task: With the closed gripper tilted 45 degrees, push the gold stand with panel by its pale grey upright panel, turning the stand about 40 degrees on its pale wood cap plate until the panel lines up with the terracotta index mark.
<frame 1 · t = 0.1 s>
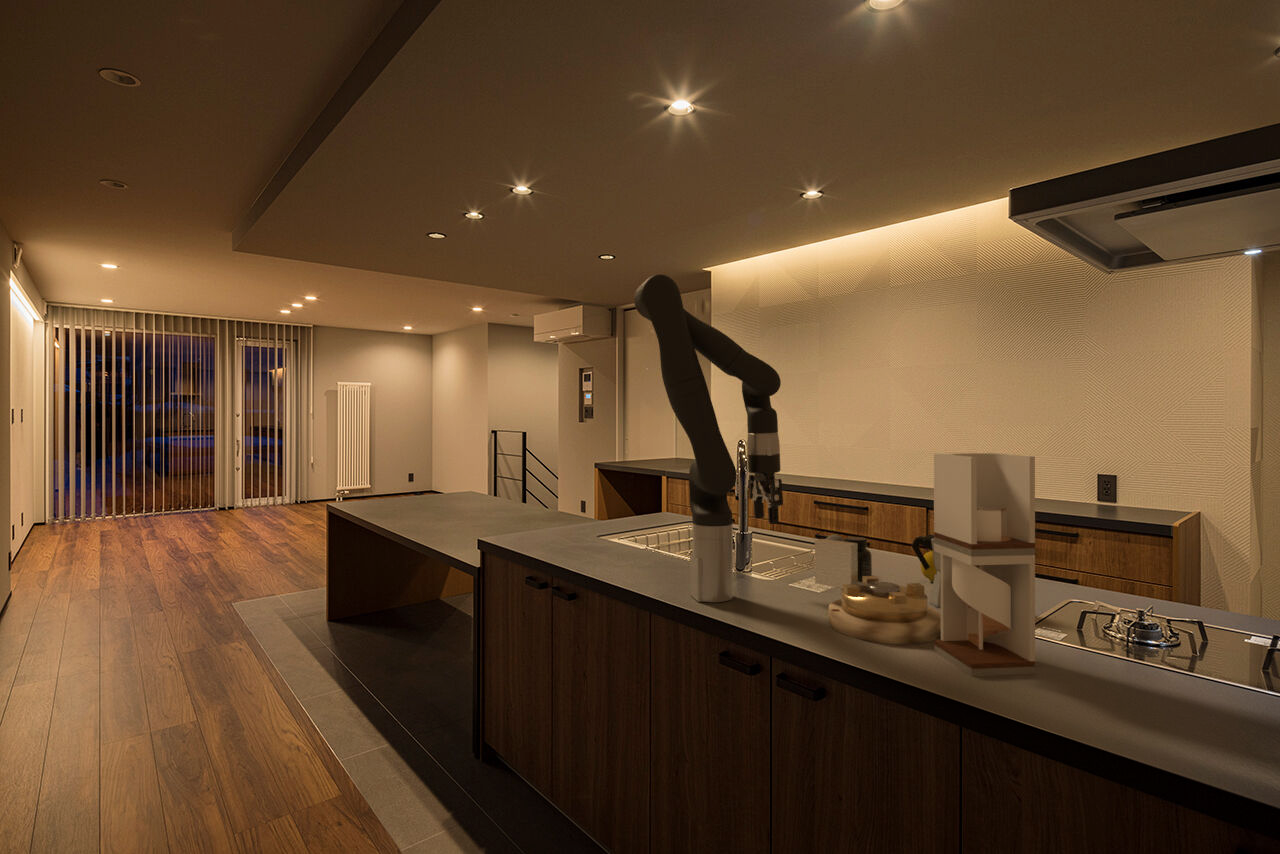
hand: (766, 520, 154), 17 cm above the worktop, tool pointing down, fingers open, 8 cm apart
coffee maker: (946, 605, 145), on the worktop
supplement bottle: (857, 588, 160), on the worktop
gold stand with panel: (868, 576, 132), point 9 cm above the worktop, hinge at 0.0°
light bulb: (834, 572, 176), on the worktop
cap plate: (883, 625, 130), on the worktop
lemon: (932, 582, 164), on the worktop
white tower model: (982, 663, 111), on the worktop
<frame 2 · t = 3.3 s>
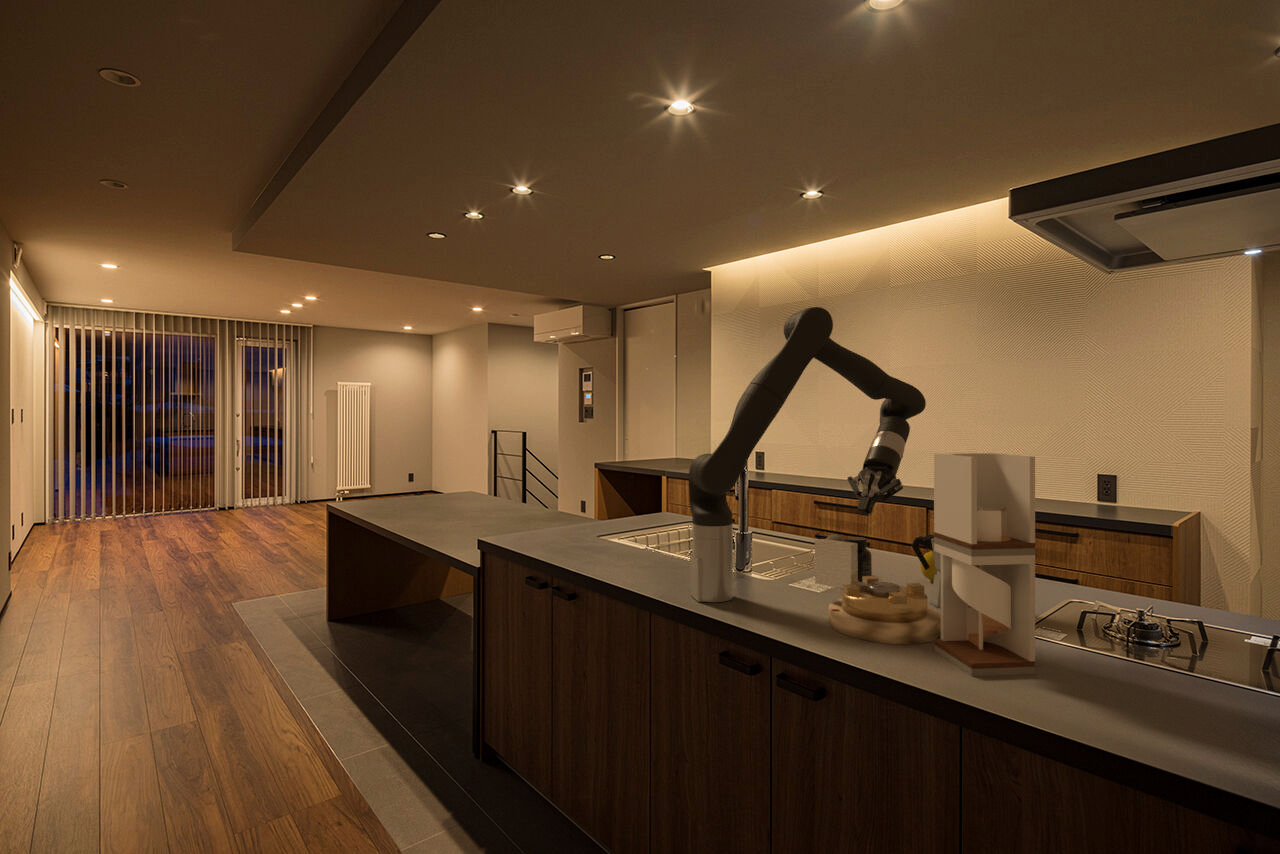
hand: (863, 513, 145), 20 cm above the worktop, tool tilted 45°, fingers closed
nothing on the worktop moved.
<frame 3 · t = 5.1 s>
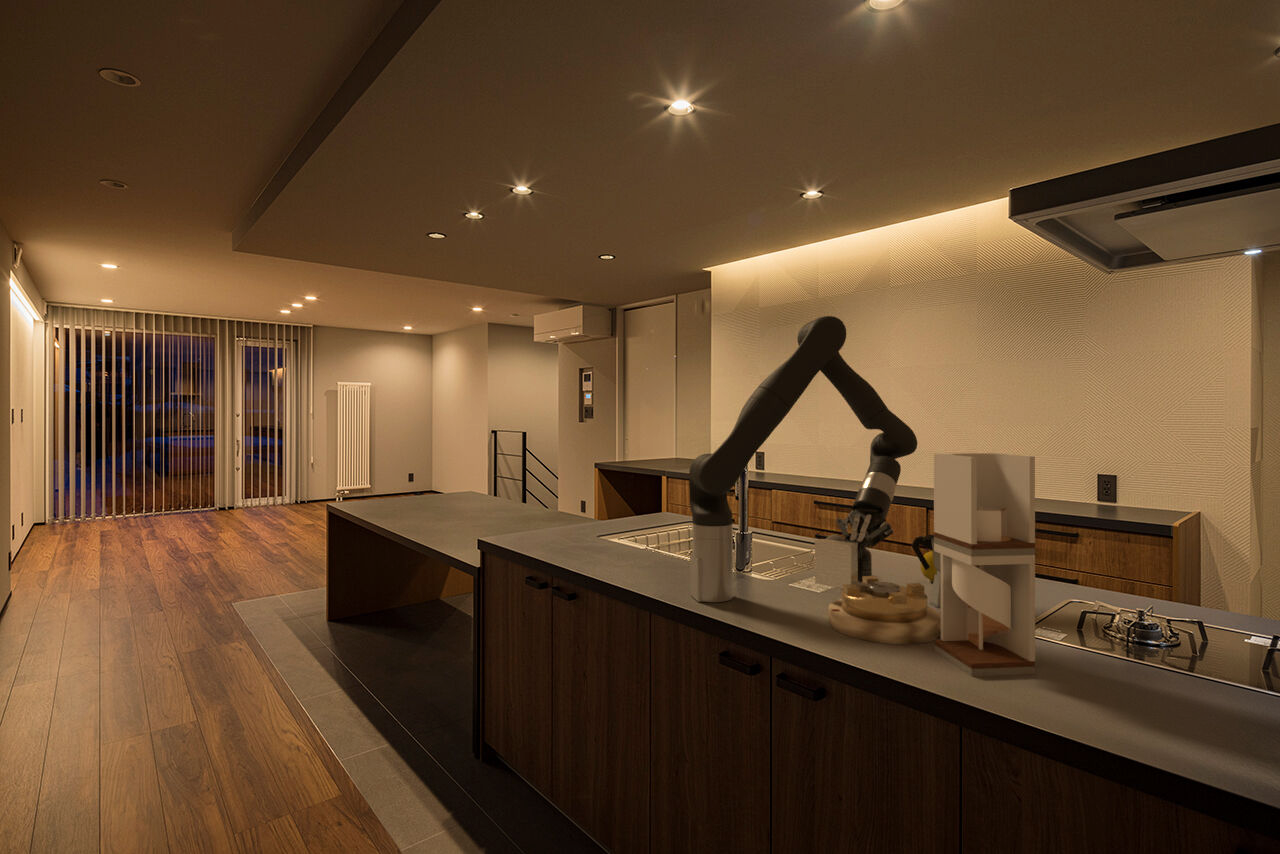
hand: (852, 558, 141), 11 cm above the worktop, tool tilted 45°, fingers closed
nothing on the worktop moved.
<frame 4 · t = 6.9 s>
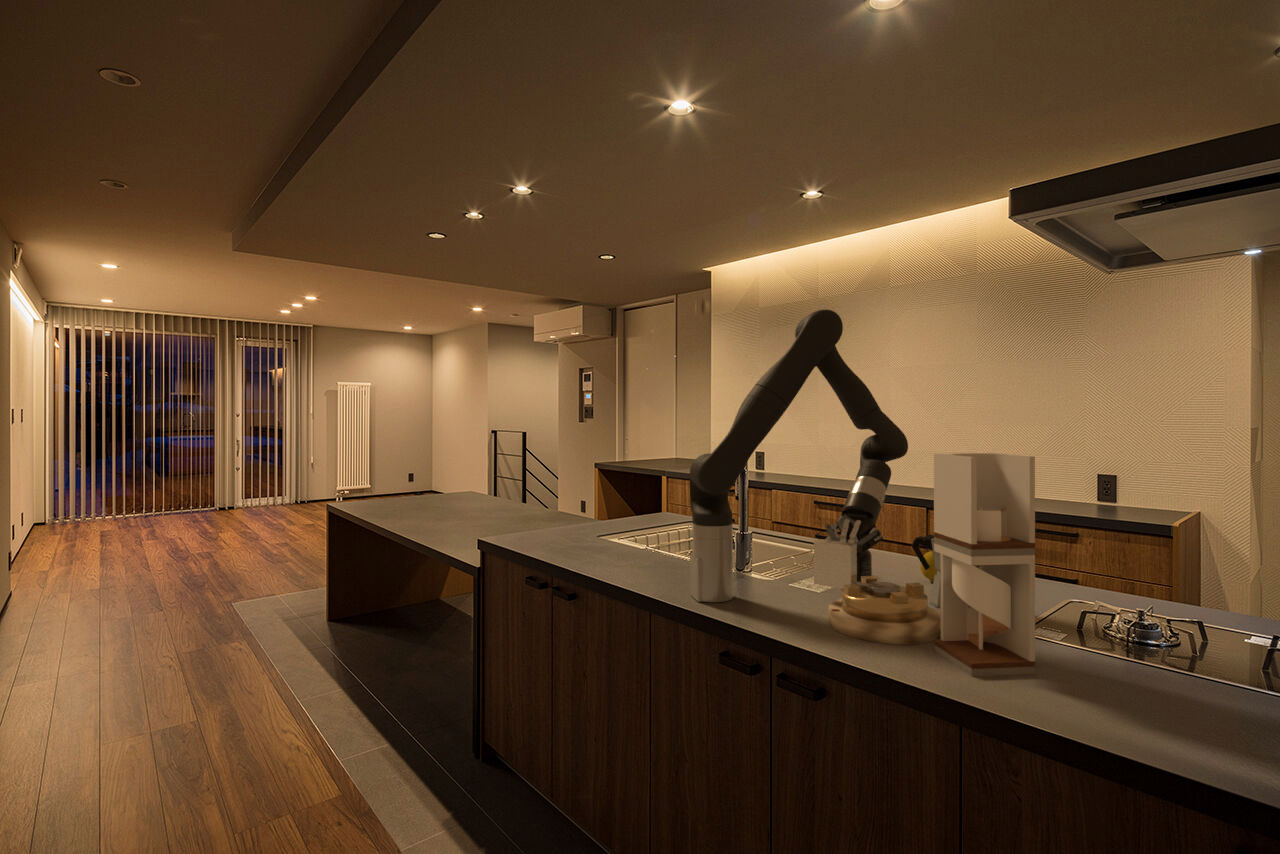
hand: (841, 565, 138), 10 cm above the worktop, tool tilted 45°, fingers closed
gold stand with panel: (868, 576, 132), point 9 cm above the worktop, hinge at 2.4°, touching gripper
everything else where it was.
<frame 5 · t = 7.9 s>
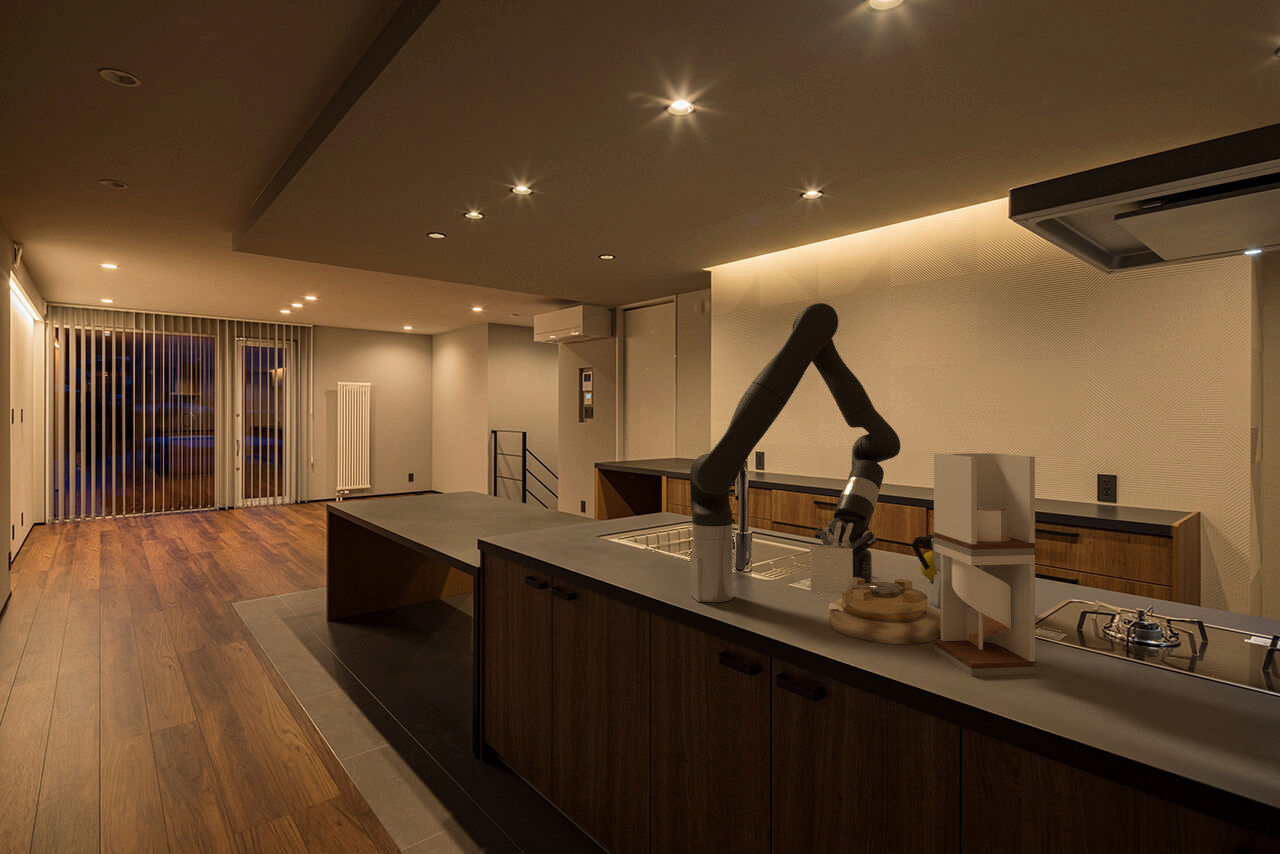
hand: (833, 570, 134), 10 cm above the worktop, tool tilted 45°, fingers closed
gold stand with panel: (867, 578, 130), point 9 cm above the worktop, hinge at 31.0°, touching gripper
everything else where it was.
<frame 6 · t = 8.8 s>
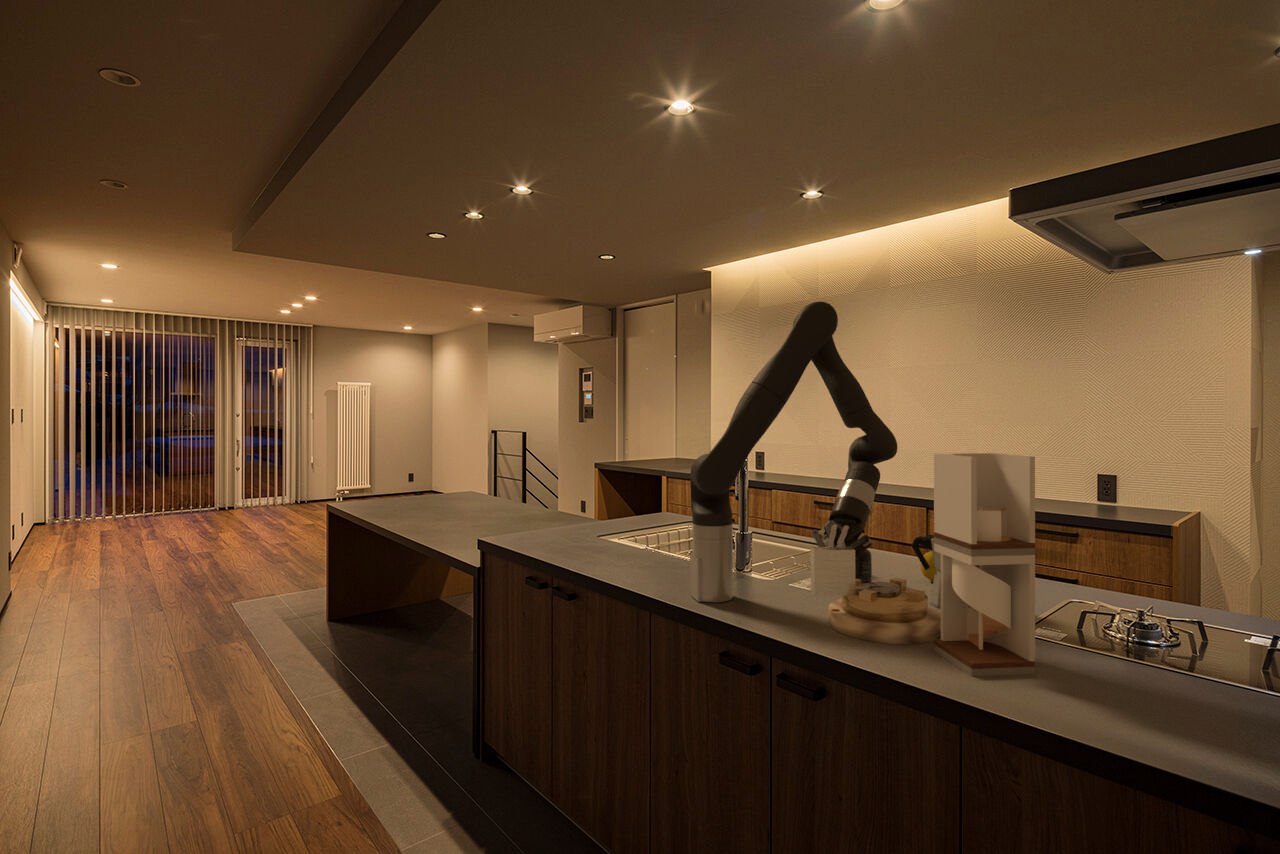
hand: (828, 573, 132), 10 cm above the worktop, tool tilted 45°, fingers closed
gold stand with panel: (868, 578, 130), point 9 cm above the worktop, hinge at 41.3°, touching gripper
everything else where it was.
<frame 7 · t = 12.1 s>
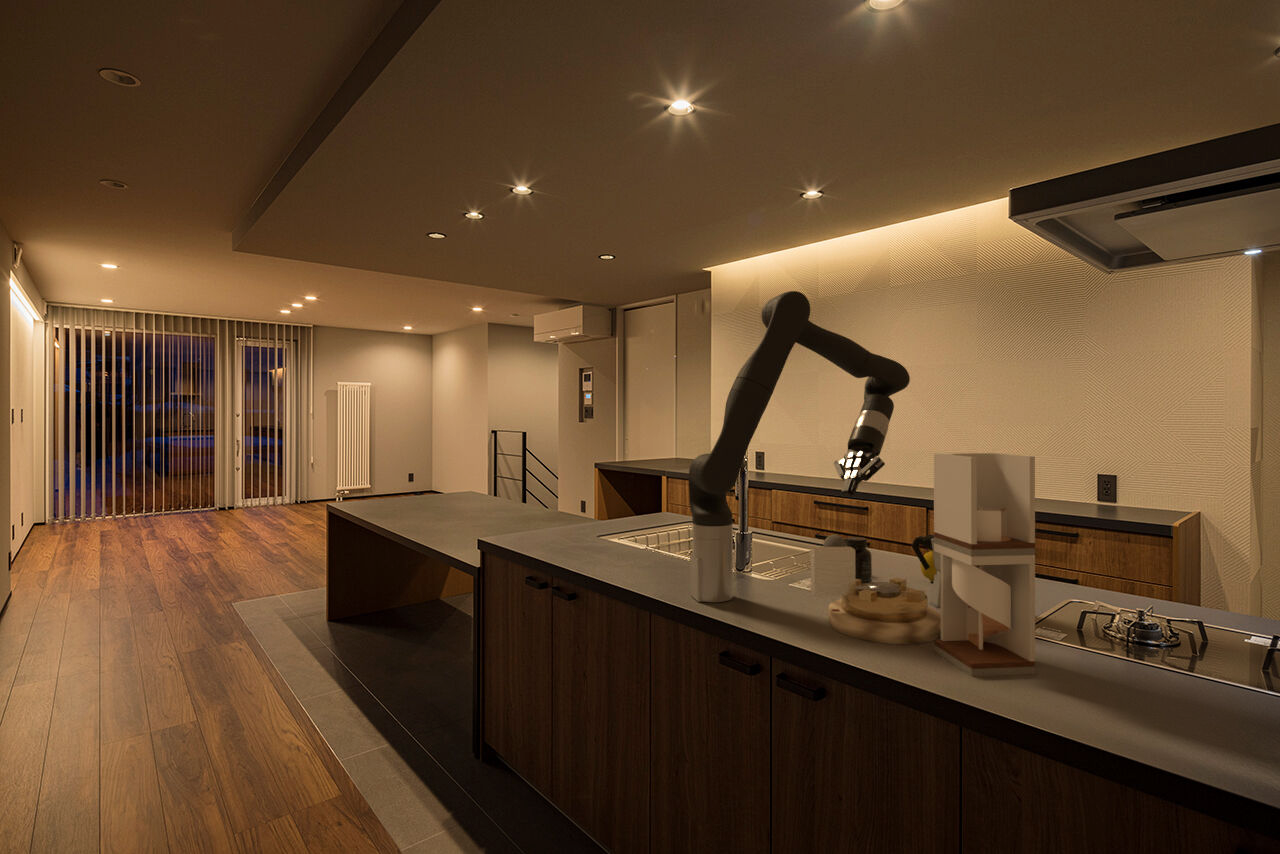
hand: (847, 495, 147), 24 cm above the worktop, tool tilted 40°, fingers closed
gold stand with panel: (868, 578, 130), point 9 cm above the worktop, hinge at 41.5°
everything else where it was.
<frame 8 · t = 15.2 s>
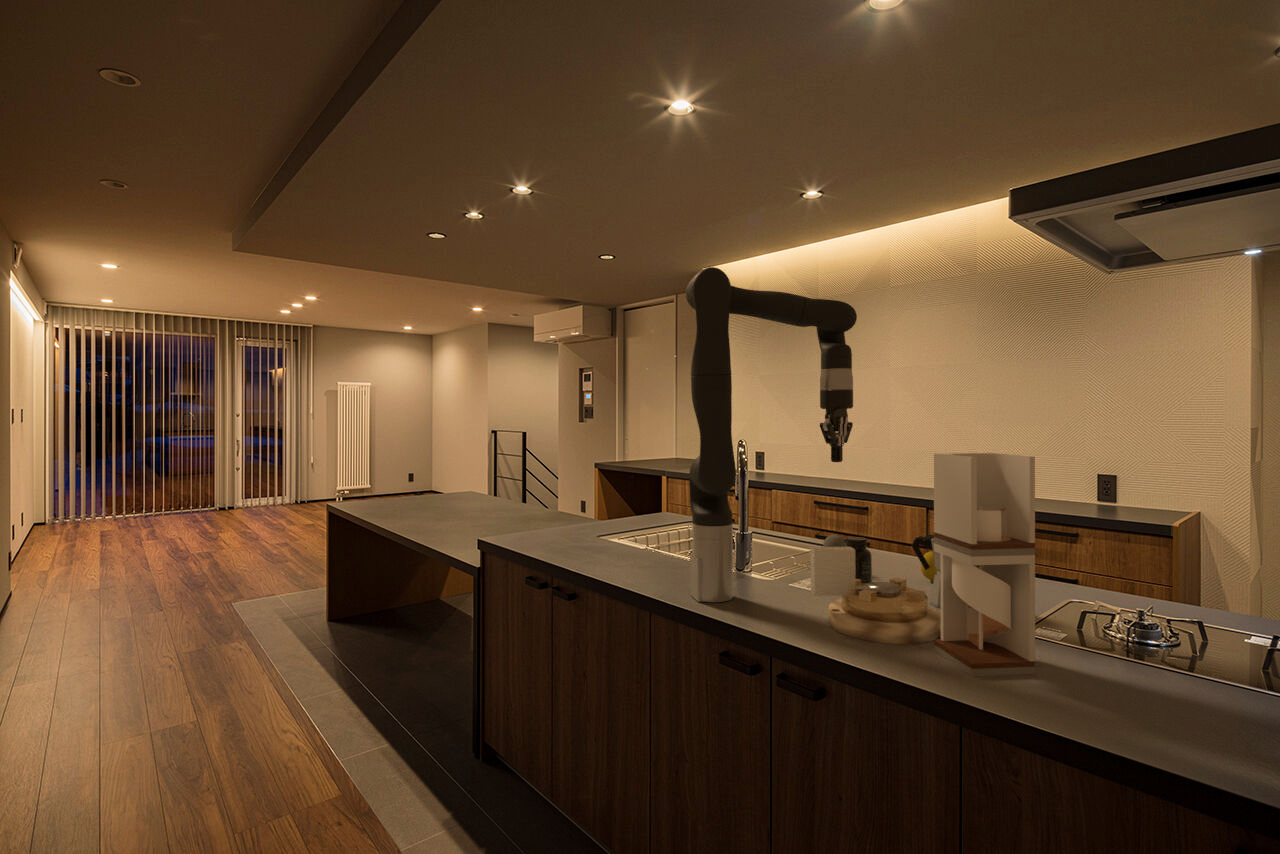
hand: (836, 461, 155), 31 cm above the worktop, tool pointing down, fingers closed
nothing on the worktop moved.
at the end: gold stand with panel at +42° (first picture: +0°) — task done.
